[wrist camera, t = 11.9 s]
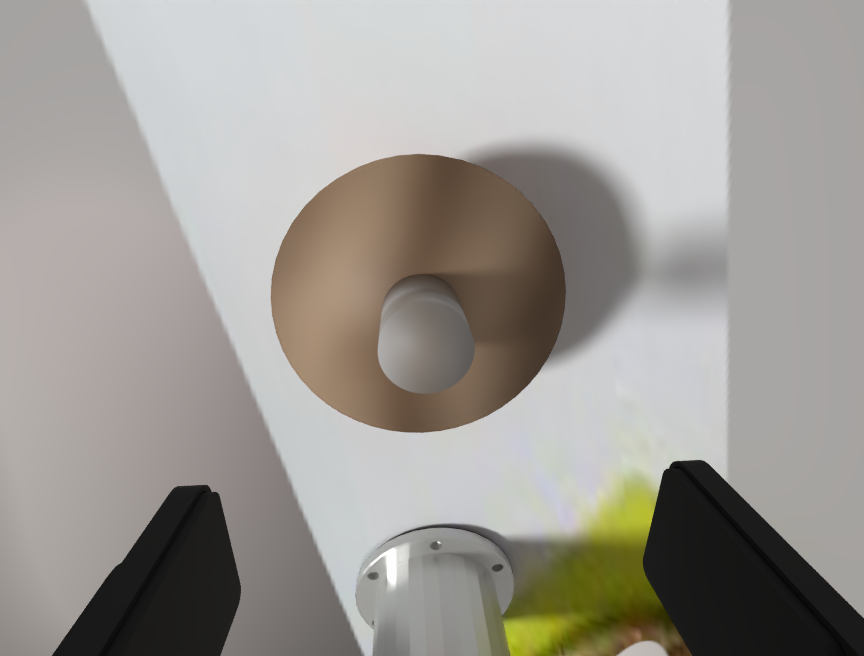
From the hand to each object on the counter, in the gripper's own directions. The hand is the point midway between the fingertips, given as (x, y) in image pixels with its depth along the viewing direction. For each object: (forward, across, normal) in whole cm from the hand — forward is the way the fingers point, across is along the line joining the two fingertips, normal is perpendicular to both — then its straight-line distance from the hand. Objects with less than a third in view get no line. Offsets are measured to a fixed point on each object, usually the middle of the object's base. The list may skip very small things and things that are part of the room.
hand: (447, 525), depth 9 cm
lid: (+12, 0, -1) cm, 12 cm away
